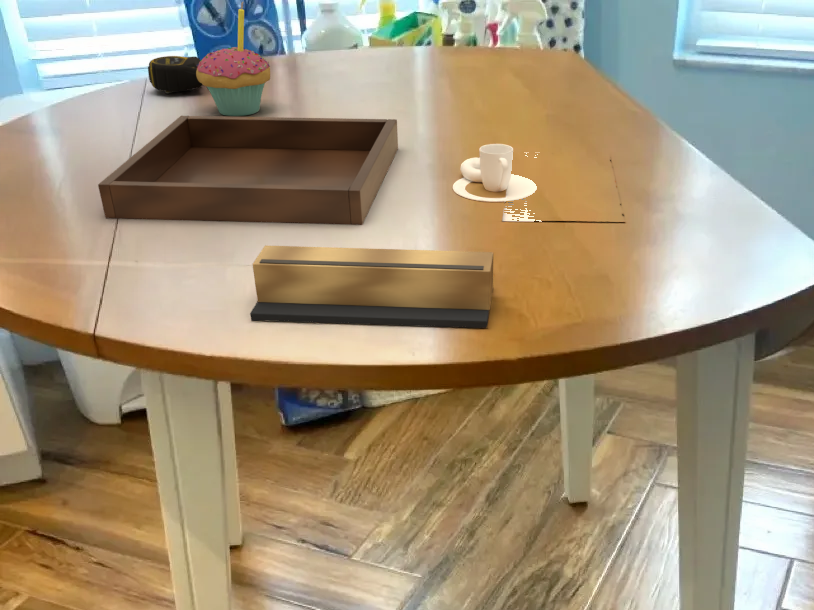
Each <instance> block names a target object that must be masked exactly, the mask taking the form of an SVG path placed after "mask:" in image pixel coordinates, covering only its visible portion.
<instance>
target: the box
mask: <svg viewBox="0 0 814 610" xmlns="http://www.w3.org/2000/svg"><path fill="white" fill-rule="evenodd" d="M398 150H399V136H398V119H396V118H395V119H394V118H393V119H392V118H391V119H390V118H388V119H387V118H341V117H340V118H338V117H337V118H336V117H334V118H333V117H328V118H327V117H284V116H283V117H281V116H279V117H278V116H275V117H274V116H226V115H222V116H221V115H219V116H218V115H217V116H216V115H215V116H213V115H180V116H178V117H177V118H176V119H174V121H173V122H172V123H170V124H169V125H168V126H167V127H165V128H164V129H163V130H162V131H160V132H159V133H158V134H157V135H156V136H154V138H152V139H151V140H150V141H149V142H147V143H146V144H145V145H143V147H141V148H140V149H138V150H137V152H135V153H134V154H133V155H132V156H130V157H129V158H128V159H127V160H126V161H124V162H123V163H122V164H121V165H119V167H117V168H116V169H115V170H114V171H112V172H111V173H110V174H109V175H108V176H106V177H105V178H104V179H103V180H102V181H100V182H99V183H98V184H97V187H98V191H99V194H100V201H101V204H102V209H103V213H104V217H105V219H110V220H145V221H146V220H149V221H150V220H152V221H187V222H189V221H190V222H191V221H192V222H193V221H194V222H227V223H228V222H230V223H263V224H265V223H268V224H302V225H303V224H304V225H305V224H306V225H307V224H308V225H340V226H341V225H342V226H344V225H346V226H348V225H349V226H363V225H364V223H365V221H366V218H367V216H368V214H369V212H370V210H371V208H372V206H373V203H374V201H375V199H376V198H377V195H378V192H379V191H380V189H381V187H382V184H383V182H384V180H385V178H386V176H387V173H388V172H389V170H390V168H391V165H392V164H393V161H394V159H395V157H396V155H397V153H398Z"/></svg>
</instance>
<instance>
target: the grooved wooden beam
mask: <svg viewBox="0 0 814 610" xmlns="http://www.w3.org/2000/svg"><path fill="white" fill-rule="evenodd" d="M252 273H253V278H254V285H255V294H256V299H257V301H258V302H269V303H298V304H327V305H356V306H386V307H415V308H444V309H473V310H491V306H492V305H491V303H492V297H493V293H494V252H493V251H470V250H469V251H468V250H466V251H464V250H436V249H435V250H432V249H429V250H428V249H426V250H425V249H396V248H366V247H364V248H363V247H362V248H361V247H333V246H332V247H331V246H329V247H328V246H327V247H326V246H295V245H294V246H293V245H264V246H263V247H262V249H261V251H260V252H259V253H258V255H257V257H256V258H255V259H254V261H253V263H252ZM257 301H256V302H257Z"/></svg>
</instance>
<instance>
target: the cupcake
mask: <svg viewBox="0 0 814 610" xmlns="http://www.w3.org/2000/svg"><path fill="white" fill-rule="evenodd" d="M243 8H244V1H242V2H241V4H240V8H239V9H237V10H238V11H237V46H232V47H227V48H221V49H217V50H213V51H212V52H211V51H210V52H209V53H207V54H206V55H205V56H204V57H203V58H202V59H200V62H199V64H198V65H197V71H196V76H197V79H198V81H199V82H200V83H202V84H203V85H202V86H204V87H206V88H207V90H208V91H209V93H210V95H211V98H212V99H213V101H214V103H215V105H216V108H217V111H218V113H219V114H220V115H222V116H226V117H247V116H250V115H254V114H257V113H258V112H259V111H260V108H261V102H262V95H263V91H264V87H265V84H266V83H267V82H269V81H270V80H271V66H270V62H269V61H267V60H266V58H264V57H263V56H262V55H260V54H259V53H257V52H255V51H254V50H249V49H247V48H245V49H244V46H245V45H244V41H245V39H244V37H245V9H243Z"/></svg>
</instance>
